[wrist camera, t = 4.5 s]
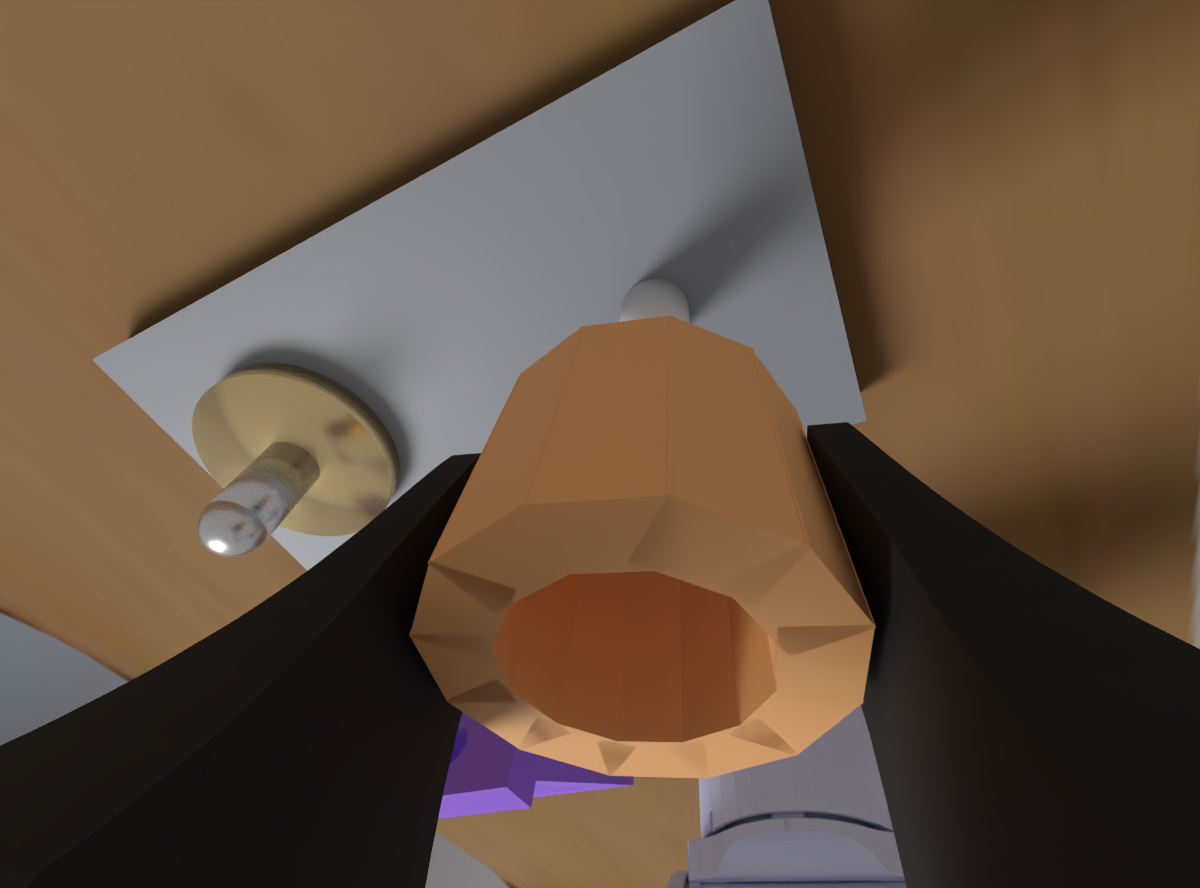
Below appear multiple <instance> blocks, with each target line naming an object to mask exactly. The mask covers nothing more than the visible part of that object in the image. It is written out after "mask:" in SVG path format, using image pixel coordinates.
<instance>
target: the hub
mask: <svg viewBox="0 0 1200 888" xmlns="http://www.w3.org/2000/svg"><path fill="white" fill-rule="evenodd" d="M192 433H193V439H194V443H195V446H196V449H197V452H198V454H199V456H200V458H201V460H202V462H203V463H204V465H205V467H206V468H207V470H208V471H209V473H210V474H211V475H212V477H213V478H214V479H215V480H216V482H217V483H218V484H219V485H220V486H221V487H222V488H223V490H222V491H221V492H220V493H219V494H218V495H217V496H216V497H215V498H214V499H213V500H212V501H211V502H210V503H209V504H208V505H207V506H206V507H205V508H204V509H203V510H202V512H201V514H200V516H199V518H198V522H197V533H198V536H199V539H200V541H201V542H202V544H203V545H204V546H205V547H206V548H207V549H208V550H210V551H211V552H213V553H215V554H218V555H222V556H227V557H236V556H242V555H246V554H248V553H251V552H253V551H255V550H256V549H258V548H259V547H260V546H261V545H262V544H263V543H264V542H265V541H266V540H267V539H268V538H269V537H270V535H271V534H272V533H273V532H274V531H275V530H276V528H277V527H278V526H281V527H284V528H286V529H289V530H292V531H296V532H300V533H304V534H309V535H316V536H342V535H348V534H352V533H356V532H358V531H360V530H361V529H362V528H363V527H365V526H366V525H367V524H368V523H369V522H371V521H372V520H373V519H374V518H375V517H377V516H378V515H379V514H380V513H381V512H383V511H384V510H385V508H386V507H387V505H388V504H389V502H390V501H391V499H392V498H393V496H394V494H395V492H396V490H397V488H398V485H399V481H400V473H401V469H400V459H399V455H398V451H397V448H396V446H395V443H394V441H393V439H392V437H391V435H390V433H389V431H388V430H387V428H386V427H385V425H384V424H383V422H382V421H381V419H380V418H379V417H378V416H377V415H376V414H375V412H374V411H373V410H372V409H371V408H370V407H369V406H368V405H367V404H366V403H365V402H364V401H363V400H361V399H360V398H359V397H358V396H356V395H355V394H354V393H353V392H351V391H350V390H348V389H347V388H345V387H344V386H342V385H341V384H339V383H338V382H336V381H334V380H332V379H330V378H328V377H326V376H324V375H322V374H319V373H317V372H314V371H312V370H309V369H305V368H302V367H299V366H294V365H288V364H281V363H260V364H254V365H249V366H246V367H243V368H241V369H238V370H236V371H235V372H233V373H231V374H230V375H228V376H227V377H225V378H224V379H222V380H221V381H220V382H218V383H217V384H215V385H214V386H213V387H211V388H210V389H209V390H208V391H206V392H205V393H204V394H203V395H202V397H201V398H200V399H199V401H198V402H197V404H196V407H195V409H194V412H193V418H192Z"/></svg>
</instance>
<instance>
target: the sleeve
mask: <svg viewBox="0 0 1200 888" xmlns="http://www.w3.org/2000/svg"><path fill="white" fill-rule="evenodd" d="M428 564H429V565H428V569H427V573H426V577H425V580H424V584H423V588H422V592H421V595H420V599H419V603H418V607H417V610H416V614H415V618H414V622H413V626H412V629H411V631H410V633H409V635H410V637H411V639H412V641H413V642H414V644H415V646H416V648H417V649H418V651H419V653H420V655H421V656H422V658H423V660H424V662H425V663H426V665H427V667H428V669H429V670H430V672H431V674H432V676H433V677H434V679H435V681H436V683H437V684H438V686H439V688H440V690H441V692H442V693H443V695H444V697H445V699H446V701H447V702H448V703H450V704H452V705H453V706H455V707H456V708H458V709H459V710H461V711H462V712H464V713H465V714H467V715H468V716H470V717H471V718H473V719H474V720H476V721H477V722H479V723H480V724H482V725H483V726H485V727H486V728H488V729H489V730H491V731H492V732H494V733H495V734H497V735H498V736H500V737H502V738H503V739H505V740H506V741H508V742H509V743H511V744H512V745H514V746H515V747H517V748H518V749H520V750H523V751H527V752H530V753H534V754H537V755H540V756H544V757H547V758H551V759H554V760H558V761H561V762H565V763H568V764H571V765H575V766H578V767H582V768H585V769H589V770H592V771H596V772H599V773H603V774H606V775H608V776H638V777H673V778H705V779H707V778H711V777H715V776H718V775H722V774H726V773H730V772H734V771H738V770H742V769H745V768H749V767H753V766H757V765H761V764H765V763H769V762H772V761H776V760H780V759H784V758H788V757H792V756H797V755H799V753H801V752H802V751H803V750H804V749H806V748H807V747H808V746H809V745H811V744H812V743H813V742H814V741H816V740H817V739H818V738H819V737H821V736H822V735H823V734H824V733H826V732H827V731H828V730H830V729H831V728H832V727H833V726H835V725H836V724H837V723H838V722H840V721H841V720H842V719H843V718H845V717H846V716H847V715H848V714H850V713H851V712H852V711H853V710H855V709H856V708H857V707H858V706H860V705H861V704H863V702H864V700H863V698H864V692H865V686H866V679H867V673H868V667H869V661H870V655H871V648H872V642H873V636H874V630H875V628H876V626H875V623H874V620H873V617H872V614H871V612H870V609H869V606H868V603H867V601H866V598H865V595H864V593H863V590H862V587H861V584H860V582H859V579H858V576H857V573H856V571H855V568H854V565H853V563H852V560H851V557H850V554H849V552H848V549H847V546H846V543H845V541H844V538H843V535H842V532H841V530H840V527H839V524H838V522H837V519H836V516H835V513H834V511H833V508H832V505H831V502H830V500H829V497H828V494H827V492H826V489H825V486H824V483H823V481H822V478H821V475H820V473H819V470H818V467H817V465H816V462H815V459H814V456H813V454H812V451H811V448H810V445H809V443H808V440H807V437H806V434H805V431H804V429H803V426H802V423H801V421H800V418H799V415H798V412H797V410H796V408H795V407H794V406H793V405H792V403H791V402H790V401H789V399H788V398H787V396H786V395H785V394H784V392H783V391H782V389H781V388H780V387H779V385H778V384H777V383H776V381H775V380H774V378H773V377H772V376H771V374H770V373H769V371H768V370H767V369H766V367H765V366H764V365H763V363H762V362H761V360H760V359H759V358H758V356H757V355H756V353H755V352H754V350H753V348H751V347H748V346H746V345H743V344H740V343H738V342H735V341H733V340H730V339H728V338H725V337H723V336H720V335H718V334H715V333H713V332H710V331H708V330H705V329H703V328H700V327H698V326H695V325H693V324H690V323H688V322H685V321H683V320H680V319H678V318H675V317H673V316H672V315H668V316H662V317H654V318H646V319H638V320H630V321H622V322H614V323H606V324H598V325H590V326H584V325H583V326H582V327H580V329H578V330H577V331H576V332H574V333H573V334H572V335H570V336H569V337H568V338H566V339H565V340H564V341H563V342H561V343H560V344H559V345H557V346H556V347H555V348H553V349H552V350H551V351H550V352H548V353H547V354H546V355H544V356H543V357H542V358H540V359H539V360H538V361H536V362H535V363H534V364H533V365H531V366H530V367H529V368H527V369H526V370H525V371H523V372H521V374H520V375H519V377H518V379H517V381H516V383H515V385H514V387H513V389H512V391H511V393H510V395H509V397H508V400H507V402H506V404H505V406H504V408H503V410H502V412H501V414H500V416H499V418H498V420H497V422H496V424H495V426H494V428H493V430H492V432H491V434H490V436H489V439H488V441H487V443H486V445H485V447H484V449H483V451H482V453H481V455H480V457H479V459H478V461H477V463H476V465H475V467H474V469H473V471H472V473H471V476H470V478H469V480H468V482H467V484H466V486H465V488H464V490H463V492H462V494H461V496H460V498H459V500H458V502H457V504H456V506H455V508H454V510H453V512H452V515H451V517H450V519H449V521H448V523H447V525H446V527H445V529H444V531H443V533H442V535H441V537H440V539H439V541H438V543H437V545H436V547H435V549H434V552H433V554H432V556H431V558H430V560H429V562H428Z"/></svg>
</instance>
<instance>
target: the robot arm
mask: <svg viewBox="0 0 1200 888" xmlns="http://www.w3.org/2000/svg"><path fill="white" fill-rule="evenodd" d="M807 440H808V443H809V445H810V448H811V451H812V454H813V456H814V459H815V462H816V465H817V467H818V470H819V473H820V475H821V478H822V481H823V483H824V486H825V489H826V492H827V494H828V497H829V500H830V502H831V505H832V508H833V511H834V513H835V516H836V519H837V522H838V524H839V527H840V530H841V532H842V535H843V538H844V541H845V543H846V546H847V549H848V552H849V554H850V557H851V560H852V563H853V565H854V568H855V571H856V573H857V576H858V579H859V582H860V584H861V587H862V590H863V593H864V595H865V598H866V601H867V603H868V606H869V609H870V612H871V614H872V617H873V620H874V623H875V626H876V628H875V630H874V636H873V642H872V648H871V655H870V661H869V667H868V673H867V679H866V686H865V692H864V698H863V700H864V702H863V704H861V705H860V706H858V707H857V708H856V709H855V710H853V711H852V712H851V713H850V714H848V715H847V716H846V717H845V718H843V719H842V720H841V721H840V722H838V723H837V724H836V725H835V726H833V727H832V728H831V729H830V730H828V731H827V732H826V733H824V734H823V735H822V736H821V737H819V738H818V739H817V740H816V741H814V742H813V743H812V744H811V745H809V746H808V747H807V748H806V749H804V750H803V751H802V752H801V753H799V755H797V756H792V757H788V758H784V759H780V760H776V761H772V762H769V763H765V764H761V765H757V766H753V767H749V768H745V769H742V770H738V771H734V772H730V773H726V774H722V775H718V776H715V777H711V778H707V779H705V778H699V796H700V821H701V838H700V839H690V840H689V841H688V871H683V870H679V871H677V872H675V873H674V874H673V875H672V876H671V878H670V880H669V881H668V884H667V887H666V888H1200V649H1198V648H1196V647H1194V646H1192V645H1190V644H1188V643H1186V642H1184V641H1183V640H1181V639H1179V638H1177V637H1175V636H1173V635H1171V634H1169V633H1167V632H1165V631H1163V630H1161V629H1159V628H1157V627H1155V626H1153V625H1151V624H1149V623H1147V622H1145V621H1143V620H1141V619H1139V618H1137V617H1135V616H1133V615H1132V614H1130V613H1128V612H1126V611H1124V610H1122V609H1120V608H1119V607H1117V606H1115V605H1113V604H1111V603H1109V602H1107V601H1106V600H1104V599H1102V598H1100V597H1098V596H1097V595H1095V594H1093V593H1091V592H1090V591H1088V590H1086V589H1084V588H1083V587H1081V586H1079V585H1078V584H1076V583H1074V582H1072V581H1071V580H1069V579H1067V578H1066V577H1064V576H1062V575H1060V574H1059V573H1057V572H1055V571H1053V570H1052V569H1050V568H1048V567H1047V566H1045V565H1043V564H1041V563H1040V562H1038V561H1036V560H1035V559H1033V558H1032V557H1030V556H1028V555H1027V554H1025V553H1024V552H1022V551H1020V550H1019V549H1017V548H1016V547H1014V546H1012V545H1011V544H1009V543H1008V542H1006V541H1005V540H1003V539H1002V538H1000V537H999V536H997V535H996V534H994V533H993V532H991V531H990V530H988V529H987V528H985V527H984V526H983V525H981V524H980V523H978V522H977V521H975V520H974V519H972V518H971V517H969V516H968V515H966V514H965V513H963V512H962V511H961V510H959V509H958V508H956V507H955V506H954V505H952V504H951V503H949V502H948V501H947V500H945V499H944V498H943V497H941V496H940V495H939V494H937V493H936V492H935V491H933V490H932V489H931V488H929V487H928V486H927V485H925V484H924V483H923V482H921V481H920V480H919V479H917V478H916V477H915V476H914V475H912V474H911V473H910V472H908V471H907V470H906V469H905V468H903V467H902V466H901V465H900V464H898V463H897V462H896V461H895V460H893V459H892V458H891V457H890V456H889V455H887V454H886V453H885V452H884V451H882V450H881V449H880V448H879V447H878V446H876V445H875V444H874V443H873V442H871V441H870V440H869V439H868V438H867V437H865V436H864V435H863V434H862V433H861V432H859V431H858V430H857V429H856V428H854V427H853V426H852V425H851V424H849V423H848V422H842V423H831V424H819V425H807ZM480 455H481V453H475V454H463V455H452V456H451V457H449V458H448V459H446V460H445V461H444V462H442V463H441V464H440V465H438V466H437V467H436V468H434V469H433V470H432V471H431V472H429V473H428V474H427V475H426V476H425V477H423V478H422V479H421V480H420V481H418V482H417V483H416V484H415V485H414V486H413V487H411V488H410V489H409V490H408V491H407V492H405V493H404V494H403V495H402V496H401V497H399V498H398V499H397V500H396V501H395V502H393V503H392V504H391V505H390V506H389V507H387V508H386V509H385V510H384V511H383V512H381V513H380V514H379V515H378V516H377V517H375V518H374V519H373V520H372V521H371V522H369V523H368V524H367V525H366V526H365V527H363V528H362V529H361V530H360V531H358V532H357V533H356V534H355V535H353V536H352V537H351V538H349V539H348V540H347V541H346V542H344V543H343V544H342V545H340V546H339V547H338V548H337V549H335V550H334V551H333V552H331V553H330V554H329V555H327V556H326V557H325V558H324V559H322V560H321V561H320V562H318V563H317V564H316V565H315V566H313V567H312V568H311V569H309V570H308V571H307V572H305V573H304V574H303V575H301V576H300V577H298V578H297V579H296V580H294V581H293V582H291V583H290V584H289V585H287V586H286V587H284V588H283V589H281V590H280V591H279V592H277V593H276V594H274V595H273V596H271V597H270V598H268V599H267V600H265V601H264V602H262V603H261V604H259V605H258V606H256V607H255V608H253V609H252V610H250V611H248V612H247V613H245V614H244V615H242V616H241V617H239V618H238V619H236V620H235V621H233V622H231V623H230V624H228V625H226V626H225V627H223V628H221V629H220V630H218V631H216V632H215V633H213V634H211V635H210V636H208V637H206V638H204V639H203V640H201V641H199V642H198V643H196V644H194V645H193V646H191V647H189V648H188V649H186V650H184V651H182V652H181V653H179V654H177V655H176V656H174V657H172V658H171V659H169V660H167V661H166V662H164V663H162V664H160V665H159V666H157V667H155V668H153V669H152V670H150V671H148V672H146V673H144V674H142V675H141V676H139V677H137V678H135V679H133V680H131V681H129V682H128V683H126V684H124V685H122V686H120V687H118V688H116V689H115V690H113V691H111V692H109V693H107V694H105V695H103V696H101V697H99V698H97V699H95V700H94V701H91V702H89V703H87V704H85V705H83V706H81V707H80V708H78V709H76V710H74V711H72V712H70V713H68V714H66V715H64V716H62V717H60V718H58V719H56V720H54V721H52V722H50V723H48V724H46V725H43V726H41V727H39V728H37V729H35V730H33V731H31V732H29V733H27V734H25V735H23V736H20V737H18V738H16V739H14V740H12V741H10V742H7V743H6V744H3V745H1V746H0V888H425V885H426V880H427V874H428V868H429V862H430V857H431V851H432V846H433V841H434V836H435V832H436V827H437V822H438V817H439V812H440V807H441V802H442V797H443V792H444V787H445V783H446V778H447V774H448V770H449V765H450V761H451V756H452V752H453V748H454V743H455V739H456V734H457V730H458V726H459V723H460V719H461V716H462V711H461V710H459V709H458V708H456V707H455V706H453V705H452V704H450V703H448V702H447V701H446V699H445V697H444V695H443V693H442V692H441V690H440V688H439V686H438V684H437V683H436V681H435V679H434V677H433V676H432V674H431V672H430V670H429V669H428V667H427V665H426V663H425V662H424V660H423V658H422V656H421V655H420V653H419V651H418V649H417V648H416V646H415V644H414V642H413V641H412V639H411V637H410V635H409V633H410V631H411V629H412V626H413V622H414V618H415V614H416V610H417V607H418V603H419V599H420V595H421V592H422V588H423V584H424V580H425V577H426V573H427V569H428V565H429V564H428V562H429V560H430V558H431V556H432V554H433V552H434V549H435V547H436V545H437V543H438V541H439V539H440V537H441V535H442V533H443V531H444V529H445V527H446V525H447V523H448V521H449V519H450V517H451V515H452V512H453V510H454V508H455V506H456V504H457V502H458V500H459V498H460V496H461V494H462V492H463V490H464V488H465V486H466V484H467V482H468V480H469V478H470V476H471V473H472V471H473V469H474V467H475V465H476V463H477V461H478V459H479V457H480Z"/></svg>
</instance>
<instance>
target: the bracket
mask: <svg viewBox="0 0 1200 888" xmlns="http://www.w3.org/2000/svg"><path fill="white" fill-rule="evenodd" d="M633 781H634V776H608V775H606V774H603V773H599V772H596V771H592V770H589V769H585V768H582V767H578V766H575V765H571V764H568V763H565V762H561V761H558V760H554V759H551V758H547V757H544V756H540V755H537V754H534V753H530V752H527V751H523V750H520V749H518V748H517V747H515V746H514V745H512V744H511V743H509V742H508V741H506V740H505V739H503V738H502V737H500V736H498V735H497V734H495V733H494V732H492V731H491V730H489V729H488V728H486V727H485V726H483V725H482V724H480V723H479V722H477V721H476V720H474V719H473V718H471V717H470V716H468V715H467V714H465V713H464V712H462V716H461V719H460V723H459V726H458V730H457V734H456V739H455V743H454V748H453V752H452V756H451V761H450V765H449V770H448V774H447V778H446V783H445V787H444V792H443V797H442V802H441V807H440V812H439V817H438V818H450V817H458V816H467V815H475V814H484V813H492V812H501V811H509V810H518V809H526V808H531V804H532V799H533V797H543V796H551V795H559V794H567V793H575V792H583V791H591V790H599V789H607V788H615V787H623V786H631V785H633Z"/></svg>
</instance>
